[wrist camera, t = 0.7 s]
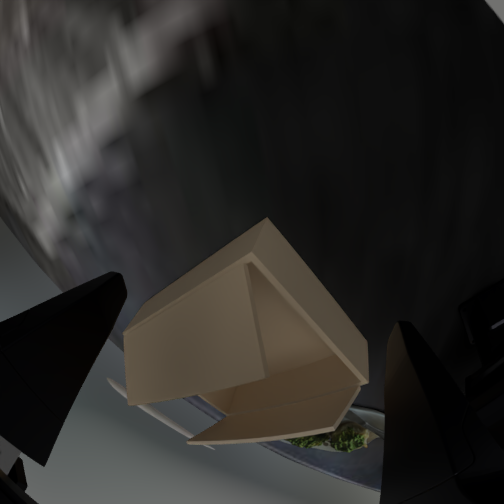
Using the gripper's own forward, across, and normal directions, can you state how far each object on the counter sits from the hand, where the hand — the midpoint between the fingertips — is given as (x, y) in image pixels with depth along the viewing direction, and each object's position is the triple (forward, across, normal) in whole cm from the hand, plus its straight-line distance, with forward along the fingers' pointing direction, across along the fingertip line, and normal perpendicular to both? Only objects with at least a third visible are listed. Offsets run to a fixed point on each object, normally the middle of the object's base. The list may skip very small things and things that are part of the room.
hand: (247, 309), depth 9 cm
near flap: (+5, +7, +11) cm, 14 cm away
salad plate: (+15, -9, +35) cm, 39 cm away
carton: (+14, +4, +16) cm, 21 cm away
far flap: (+6, 0, +20) cm, 20 cm away
